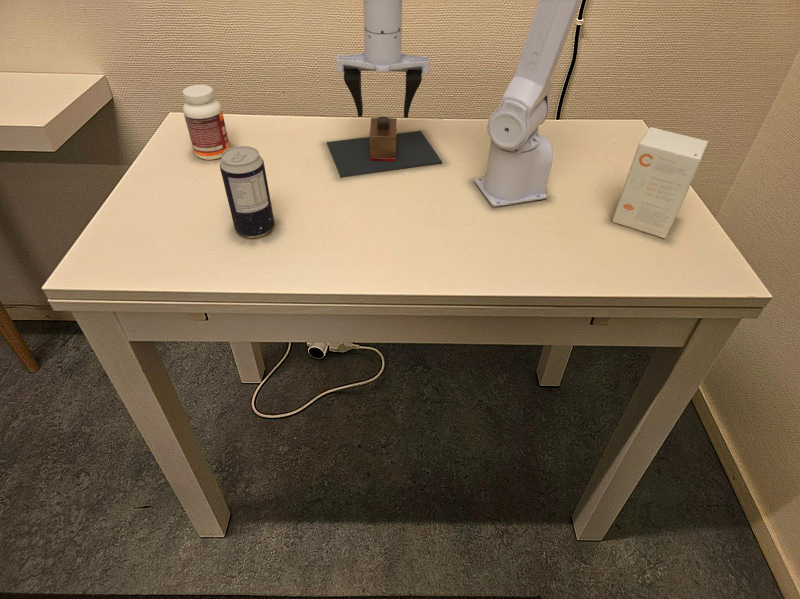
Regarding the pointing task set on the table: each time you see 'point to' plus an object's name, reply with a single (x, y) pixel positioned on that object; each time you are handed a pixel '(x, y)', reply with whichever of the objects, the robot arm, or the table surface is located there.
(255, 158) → the beverage can
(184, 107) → the pill bottle
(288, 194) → the table surface
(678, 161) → the small box
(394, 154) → the stamp
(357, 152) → the desk mat
